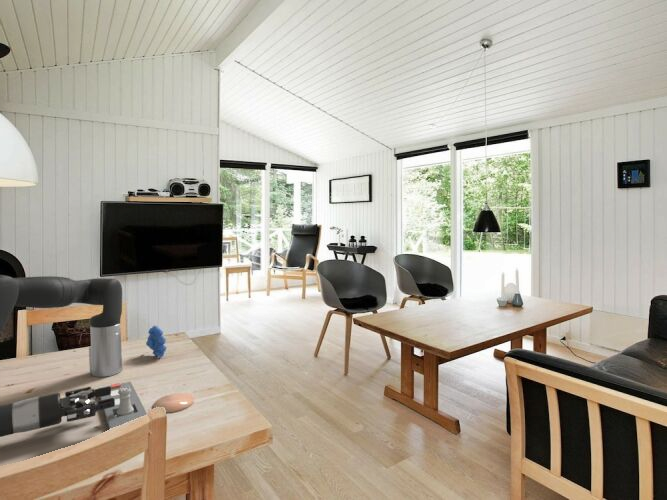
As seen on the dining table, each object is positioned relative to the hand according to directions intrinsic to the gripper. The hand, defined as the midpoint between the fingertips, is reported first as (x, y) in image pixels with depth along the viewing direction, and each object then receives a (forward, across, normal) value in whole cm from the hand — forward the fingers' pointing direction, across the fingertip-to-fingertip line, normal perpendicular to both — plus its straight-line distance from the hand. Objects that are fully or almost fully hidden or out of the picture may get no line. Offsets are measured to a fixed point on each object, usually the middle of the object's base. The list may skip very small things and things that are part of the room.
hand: (112, 395), depth 107 cm
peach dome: (+16, 0, +6) cm, 17 cm away
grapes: (+20, +46, +7) cm, 50 cm away
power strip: (+3, +6, +6) cm, 9 cm away
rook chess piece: (+3, 0, +7) cm, 7 cm away
